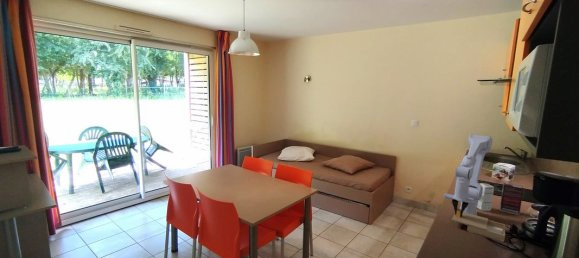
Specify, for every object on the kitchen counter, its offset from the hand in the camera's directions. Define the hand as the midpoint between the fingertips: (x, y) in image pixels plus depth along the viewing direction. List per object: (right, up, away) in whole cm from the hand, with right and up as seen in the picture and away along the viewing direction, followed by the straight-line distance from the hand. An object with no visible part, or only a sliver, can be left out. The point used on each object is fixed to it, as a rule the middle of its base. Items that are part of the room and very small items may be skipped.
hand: (458, 214), depth 136 cm
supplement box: (+39, -3, +15) cm, 42 cm away
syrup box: (+26, -3, +18) cm, 32 cm away
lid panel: (+4, -2, -3) cm, 5 cm away
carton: (+9, -6, -7) cm, 13 cm away
